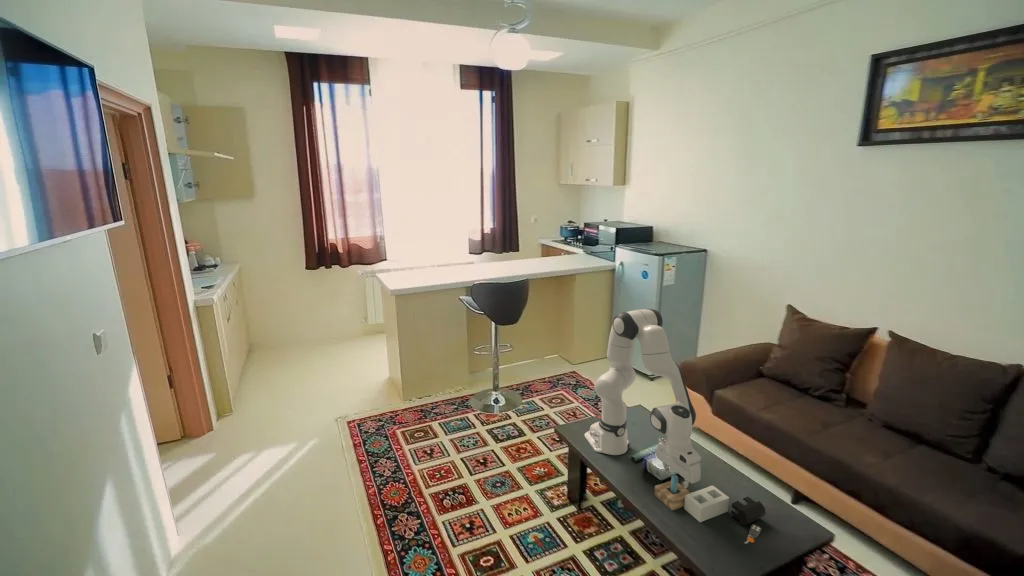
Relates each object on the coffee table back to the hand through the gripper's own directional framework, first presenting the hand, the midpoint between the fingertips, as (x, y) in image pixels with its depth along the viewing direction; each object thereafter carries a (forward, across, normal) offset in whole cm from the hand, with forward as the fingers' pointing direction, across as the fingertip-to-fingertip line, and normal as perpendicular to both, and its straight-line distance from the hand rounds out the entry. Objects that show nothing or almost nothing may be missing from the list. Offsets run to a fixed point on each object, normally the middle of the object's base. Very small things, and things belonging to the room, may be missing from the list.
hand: (675, 479), depth 180 cm
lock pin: (+9, -1, 0) cm, 9 cm away
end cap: (+10, +20, +17) cm, 27 cm away
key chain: (+10, +26, +11) cm, 30 cm away
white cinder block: (+9, +9, +7) cm, 15 cm away
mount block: (+9, -1, 0) cm, 9 cm away
